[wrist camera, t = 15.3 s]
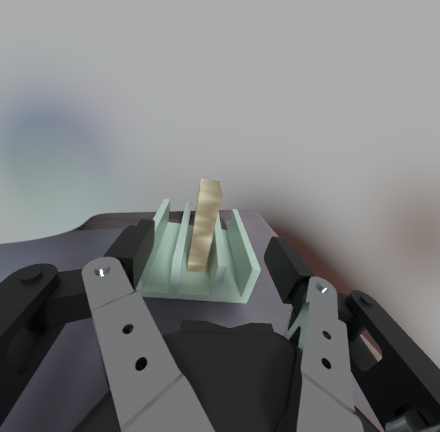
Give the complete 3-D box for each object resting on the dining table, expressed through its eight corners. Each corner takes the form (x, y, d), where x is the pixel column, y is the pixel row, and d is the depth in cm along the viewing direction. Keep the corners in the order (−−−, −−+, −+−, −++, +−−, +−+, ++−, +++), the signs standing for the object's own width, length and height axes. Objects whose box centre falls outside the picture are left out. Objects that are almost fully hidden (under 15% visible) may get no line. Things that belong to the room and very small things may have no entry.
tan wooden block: (186, 271, 24) (199, 190, 18) (189, 248, 28) (201, 177, 23) (204, 272, 24) (222, 194, 19) (204, 250, 28) (219, 181, 23)
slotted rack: (133, 296, 20) (132, 257, 17) (162, 225, 34) (164, 198, 31) (246, 303, 22) (260, 269, 20) (230, 234, 36) (237, 209, 34)
